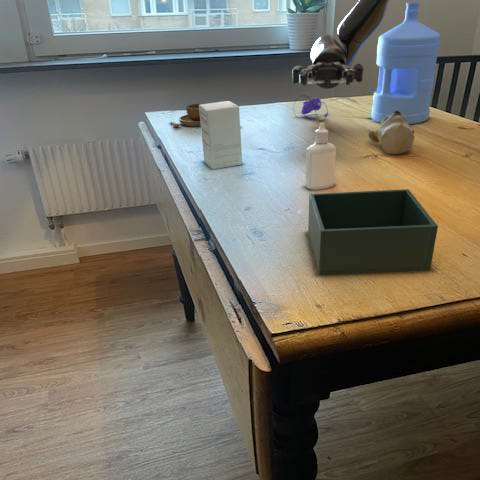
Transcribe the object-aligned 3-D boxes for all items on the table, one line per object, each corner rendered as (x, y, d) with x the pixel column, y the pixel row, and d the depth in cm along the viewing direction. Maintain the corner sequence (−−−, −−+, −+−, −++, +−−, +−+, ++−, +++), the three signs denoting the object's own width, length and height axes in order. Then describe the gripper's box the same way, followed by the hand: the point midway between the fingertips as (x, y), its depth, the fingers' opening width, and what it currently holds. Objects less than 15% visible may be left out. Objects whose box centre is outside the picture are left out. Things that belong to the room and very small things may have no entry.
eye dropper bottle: (334, 190, 97) (337, 125, 90) (305, 190, 98) (306, 126, 91) (334, 183, 100) (337, 120, 94) (306, 183, 101) (307, 120, 95)
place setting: (221, 115, 158) (219, 95, 155) (243, 128, 143) (242, 106, 139) (167, 122, 154) (164, 102, 150) (184, 136, 138) (181, 114, 135)
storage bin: (402, 229, 80) (408, 189, 77) (430, 270, 69) (438, 226, 65) (308, 233, 81) (309, 193, 77) (318, 275, 69) (320, 231, 66)
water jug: (398, 110, 151) (411, 1, 135) (440, 119, 139) (459, 0, 124) (359, 119, 145) (368, 5, 129) (399, 128, 133) (414, 4, 118)
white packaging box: (233, 157, 119) (229, 100, 112) (242, 165, 113) (239, 105, 106) (203, 161, 118) (197, 103, 111) (211, 170, 112) (206, 109, 105)
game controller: (291, 102, 151) (324, 93, 150) (297, 130, 153) (329, 121, 152) (291, 97, 142) (326, 87, 140) (297, 127, 144) (332, 118, 142)
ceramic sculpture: (376, 116, 108) (368, 106, 121) (372, 157, 112) (365, 143, 125) (427, 115, 107) (414, 105, 120) (421, 156, 111) (409, 143, 124)
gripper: (297, 49, 111) (290, 59, 97) (363, 47, 108) (365, 57, 95) (296, 86, 115) (289, 100, 102) (360, 84, 112) (361, 99, 99)
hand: (326, 79), depth 98 cm, fingers open, 8 cm apart
